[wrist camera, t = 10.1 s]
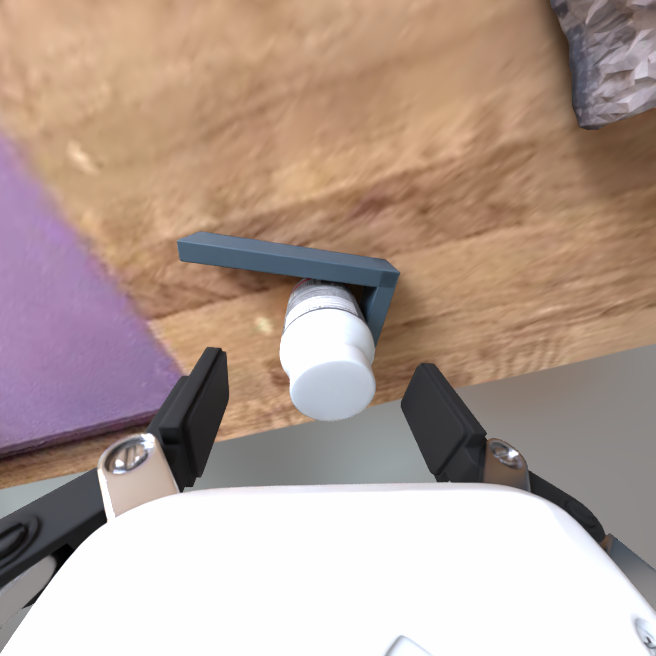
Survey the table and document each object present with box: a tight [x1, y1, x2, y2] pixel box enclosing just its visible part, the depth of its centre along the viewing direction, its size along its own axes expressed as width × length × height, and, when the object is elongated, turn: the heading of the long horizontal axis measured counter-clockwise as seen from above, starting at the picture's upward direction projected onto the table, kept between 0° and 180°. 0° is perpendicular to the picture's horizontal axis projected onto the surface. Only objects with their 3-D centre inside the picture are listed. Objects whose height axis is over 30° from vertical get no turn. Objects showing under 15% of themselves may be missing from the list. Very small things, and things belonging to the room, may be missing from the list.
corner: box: [177, 231, 400, 348], centre depth 18 cm, size 13×12×3 cm
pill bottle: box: [280, 278, 376, 421], centre depth 15 cm, size 5×5×10 cm
